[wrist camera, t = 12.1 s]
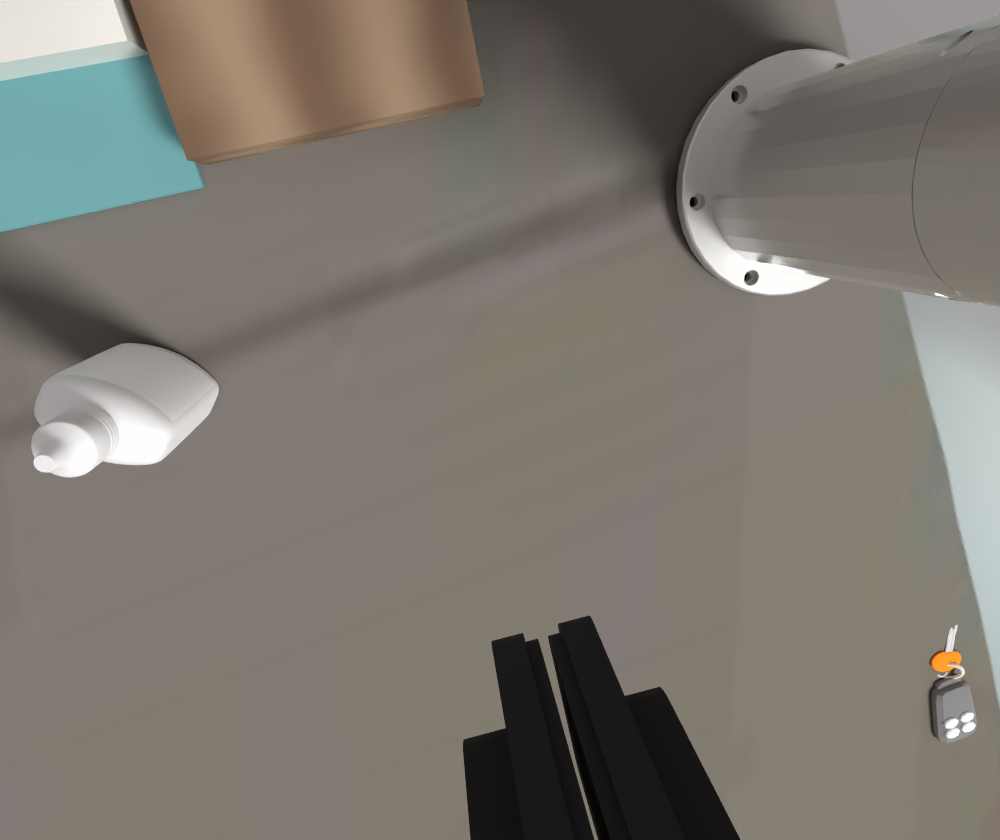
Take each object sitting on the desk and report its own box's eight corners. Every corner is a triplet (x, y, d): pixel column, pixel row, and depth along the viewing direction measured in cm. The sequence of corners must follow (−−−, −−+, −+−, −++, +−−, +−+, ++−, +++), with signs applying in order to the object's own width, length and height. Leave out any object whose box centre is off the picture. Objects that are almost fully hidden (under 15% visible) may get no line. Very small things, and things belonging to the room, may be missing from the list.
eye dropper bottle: (162, 315, 33) (29, 370, 22) (233, 397, 35) (145, 488, 24) (97, 359, 33) (-66, 437, 22) (171, 439, 35) (56, 548, 24)
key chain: (971, 719, 52) (986, 733, 51) (929, 735, 52) (943, 749, 51) (956, 601, 47) (972, 613, 46) (910, 619, 47) (925, 632, 46)
